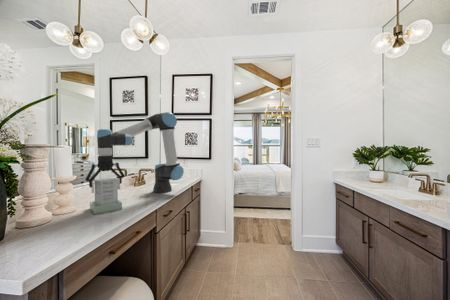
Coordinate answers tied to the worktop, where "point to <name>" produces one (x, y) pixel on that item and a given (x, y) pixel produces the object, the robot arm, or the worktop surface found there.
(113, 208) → the tray
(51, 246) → the worktop surface
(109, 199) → the supplement box
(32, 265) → the worktop surface
